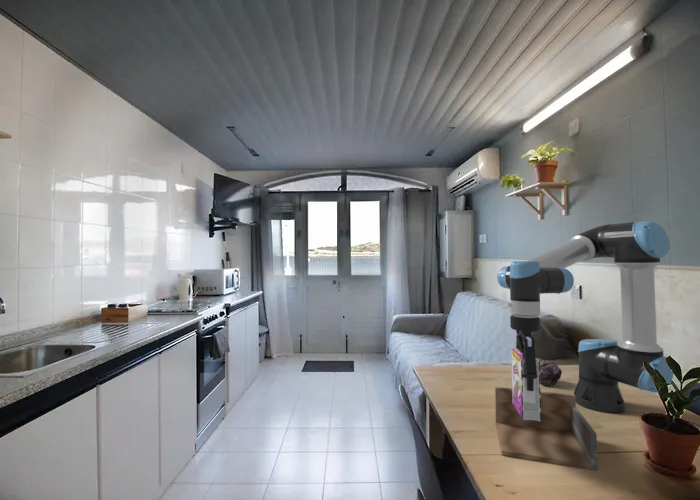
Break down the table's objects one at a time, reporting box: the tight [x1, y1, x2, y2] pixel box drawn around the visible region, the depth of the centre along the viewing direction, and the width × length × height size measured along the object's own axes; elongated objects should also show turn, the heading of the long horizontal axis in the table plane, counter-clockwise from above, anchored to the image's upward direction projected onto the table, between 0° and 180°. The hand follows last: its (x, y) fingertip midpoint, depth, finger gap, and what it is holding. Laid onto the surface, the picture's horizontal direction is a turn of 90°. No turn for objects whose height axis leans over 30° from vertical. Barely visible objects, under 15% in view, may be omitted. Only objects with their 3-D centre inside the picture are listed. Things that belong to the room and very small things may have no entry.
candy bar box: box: [510, 348, 541, 422], centre depth 98 cm, size 11×5×16 cm, turn 168°
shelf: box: [494, 386, 598, 471], centre depth 99 cm, size 22×18×12 cm
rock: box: [540, 359, 563, 387], centre depth 148 cm, size 12×9×10 cm
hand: (525, 393), depth 98 cm, fingers closed on candy bar box, 11 cm apart
